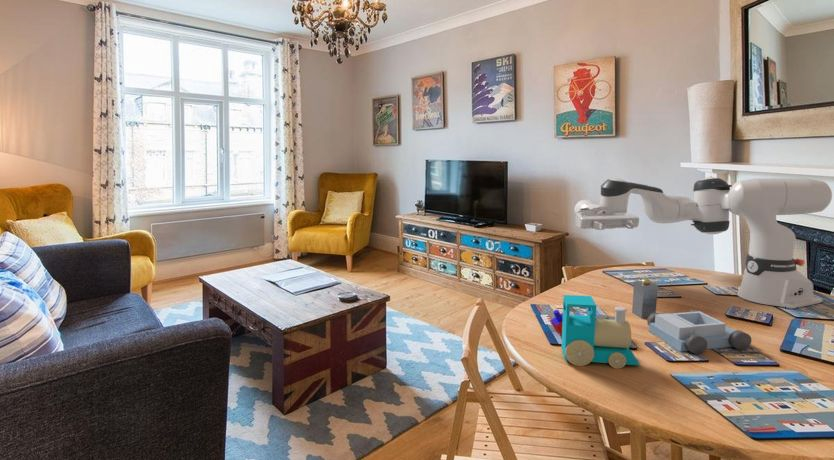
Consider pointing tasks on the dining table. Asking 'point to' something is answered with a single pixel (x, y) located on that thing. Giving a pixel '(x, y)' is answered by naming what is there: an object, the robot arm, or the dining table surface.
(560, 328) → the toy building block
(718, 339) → the chassis
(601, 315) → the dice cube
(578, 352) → the toy train
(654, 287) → the engine block
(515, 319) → the dining table surface
